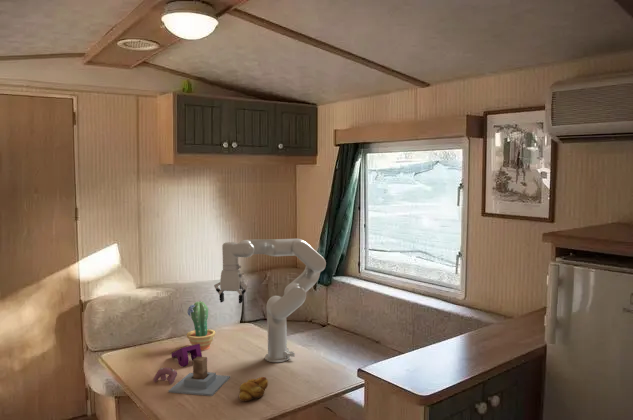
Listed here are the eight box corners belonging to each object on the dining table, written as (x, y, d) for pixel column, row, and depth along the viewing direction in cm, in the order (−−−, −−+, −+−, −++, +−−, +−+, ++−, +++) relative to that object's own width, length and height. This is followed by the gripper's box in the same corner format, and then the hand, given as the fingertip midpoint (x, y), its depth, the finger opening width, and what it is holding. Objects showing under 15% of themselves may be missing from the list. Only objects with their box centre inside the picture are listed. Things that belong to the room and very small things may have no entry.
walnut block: (207, 381, 228) (206, 357, 227) (202, 385, 223) (202, 360, 223) (198, 380, 229) (197, 356, 228) (193, 384, 224) (192, 359, 224)
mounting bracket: (171, 371, 258) (185, 365, 245) (168, 354, 260) (181, 347, 247) (189, 367, 264) (203, 360, 250) (185, 350, 266) (199, 343, 253)
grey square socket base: (230, 377, 234) (230, 369, 233) (212, 396, 214) (211, 387, 214) (189, 374, 238) (189, 366, 238) (168, 392, 218) (168, 383, 218)
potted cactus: (193, 342, 284) (192, 298, 282) (220, 343, 282) (219, 298, 280) (182, 352, 269) (180, 305, 267) (210, 353, 267) (209, 305, 265)
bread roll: (246, 405, 205) (246, 386, 204) (231, 398, 212) (231, 379, 211) (270, 395, 214) (270, 376, 214) (255, 389, 221) (255, 370, 220)
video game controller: (176, 385, 230) (179, 369, 232) (170, 384, 226) (174, 368, 228) (157, 382, 233) (161, 366, 235) (151, 381, 229) (155, 365, 231)
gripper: (250, 266, 251) (250, 301, 252) (217, 265, 255) (218, 299, 256) (244, 269, 244) (245, 304, 245) (210, 268, 248) (211, 303, 249)
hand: (231, 302), depth 250 cm, fingers open, 9 cm apart
